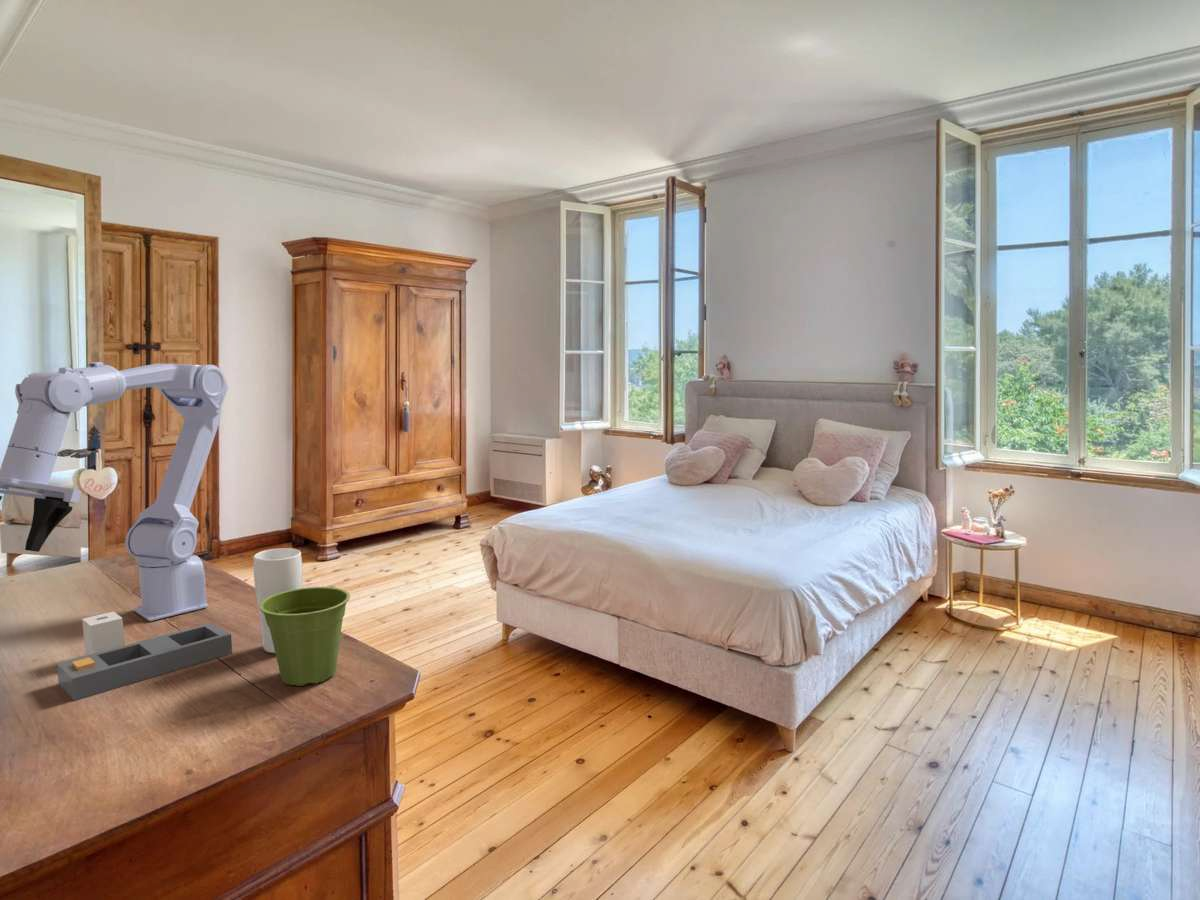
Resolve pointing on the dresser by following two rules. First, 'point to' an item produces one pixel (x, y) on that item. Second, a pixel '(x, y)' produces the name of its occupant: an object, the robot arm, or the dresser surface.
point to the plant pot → (306, 631)
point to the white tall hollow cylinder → (275, 580)
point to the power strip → (142, 660)
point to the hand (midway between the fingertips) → (1, 547)
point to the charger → (103, 632)
